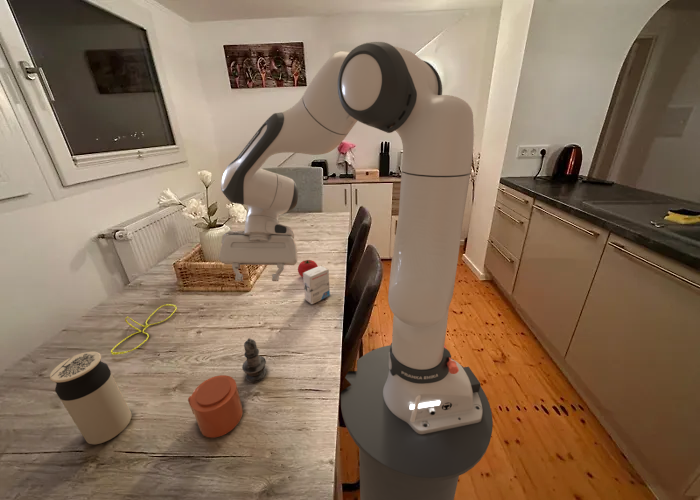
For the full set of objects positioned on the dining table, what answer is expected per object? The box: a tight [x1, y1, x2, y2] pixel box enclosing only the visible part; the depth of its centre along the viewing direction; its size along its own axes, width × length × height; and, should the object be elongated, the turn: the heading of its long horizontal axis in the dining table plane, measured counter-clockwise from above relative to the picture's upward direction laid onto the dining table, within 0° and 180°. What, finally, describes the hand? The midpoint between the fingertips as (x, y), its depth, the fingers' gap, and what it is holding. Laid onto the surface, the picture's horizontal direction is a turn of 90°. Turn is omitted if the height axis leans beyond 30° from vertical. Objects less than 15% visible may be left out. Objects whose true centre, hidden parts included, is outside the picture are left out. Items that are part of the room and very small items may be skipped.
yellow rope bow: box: [110, 303, 178, 356], centre depth 91 cm, size 25×10×5 cm, turn 178°
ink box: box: [302, 265, 331, 305], centre depth 104 cm, size 9×5×12 cm, turn 132°
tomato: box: [297, 259, 319, 278], centre depth 121 cm, size 9×9×8 cm
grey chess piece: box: [241, 338, 268, 384], centre depth 71 cm, size 6×6×12 cm
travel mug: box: [49, 351, 132, 445], centre depth 58 cm, size 8×8×18 cm
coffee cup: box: [187, 374, 244, 439], centre depth 61 cm, size 10×9×9 cm
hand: (257, 281), depth 74 cm, fingers open, 8 cm apart
